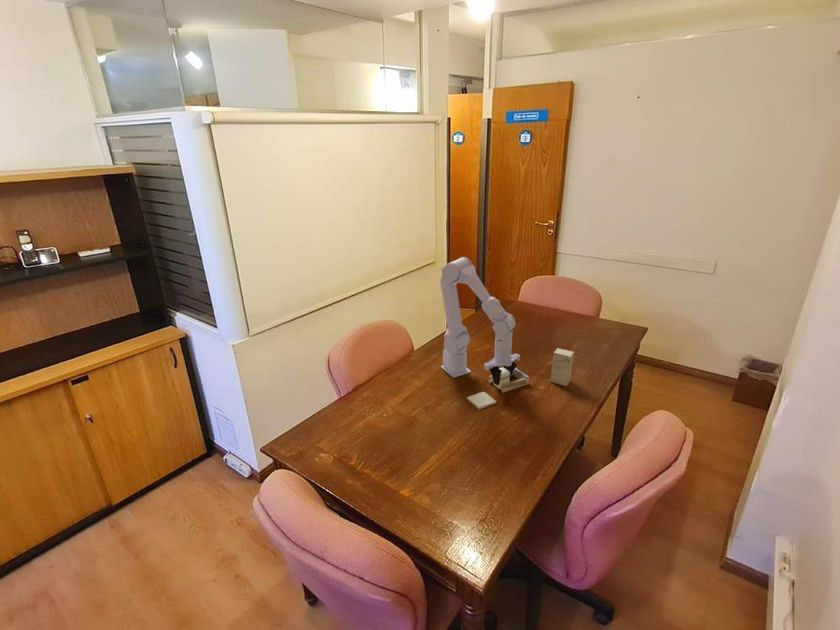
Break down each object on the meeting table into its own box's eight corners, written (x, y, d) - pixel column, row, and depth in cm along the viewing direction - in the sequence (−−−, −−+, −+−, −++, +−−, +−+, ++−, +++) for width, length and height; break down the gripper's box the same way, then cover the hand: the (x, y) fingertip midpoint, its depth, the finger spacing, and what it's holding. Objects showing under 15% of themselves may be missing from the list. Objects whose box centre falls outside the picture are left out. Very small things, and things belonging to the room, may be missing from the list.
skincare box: (549, 381, 161) (552, 352, 156) (553, 376, 165) (556, 347, 160) (567, 386, 158) (570, 356, 153) (570, 381, 161) (574, 351, 157)
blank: (493, 384, 161) (493, 370, 158) (502, 381, 162) (502, 367, 160) (500, 389, 157) (501, 375, 155) (509, 386, 159) (510, 371, 157)
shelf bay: (488, 381, 162) (488, 374, 161) (513, 373, 167) (513, 366, 166) (503, 392, 155) (503, 385, 154) (528, 383, 160) (528, 376, 159)
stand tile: (467, 399, 152) (467, 397, 152) (483, 393, 155) (483, 391, 155) (479, 409, 147) (479, 407, 146) (496, 403, 150) (496, 401, 149)
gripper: (493, 358, 148) (491, 393, 153) (526, 347, 154) (524, 381, 159) (480, 350, 153) (479, 383, 159) (513, 340, 160) (511, 372, 165)
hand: (501, 382), depth 159 cm, fingers closed on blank, 4 cm apart
